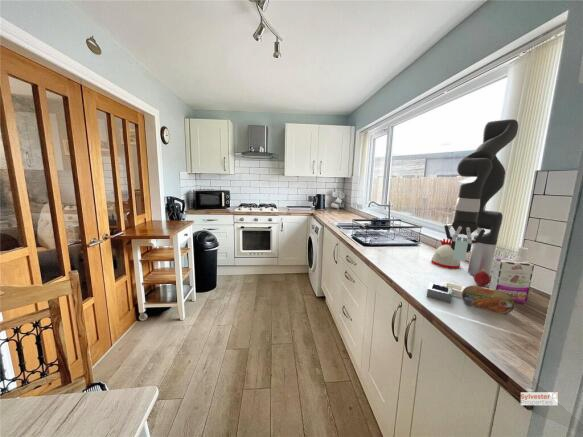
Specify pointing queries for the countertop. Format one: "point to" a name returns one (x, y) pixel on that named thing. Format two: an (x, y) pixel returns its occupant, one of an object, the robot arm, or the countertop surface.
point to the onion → (482, 278)
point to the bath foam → (522, 254)
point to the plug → (460, 248)
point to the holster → (455, 289)
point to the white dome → (445, 256)
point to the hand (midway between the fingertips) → (460, 250)
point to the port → (439, 292)
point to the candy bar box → (512, 278)
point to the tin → (488, 299)
